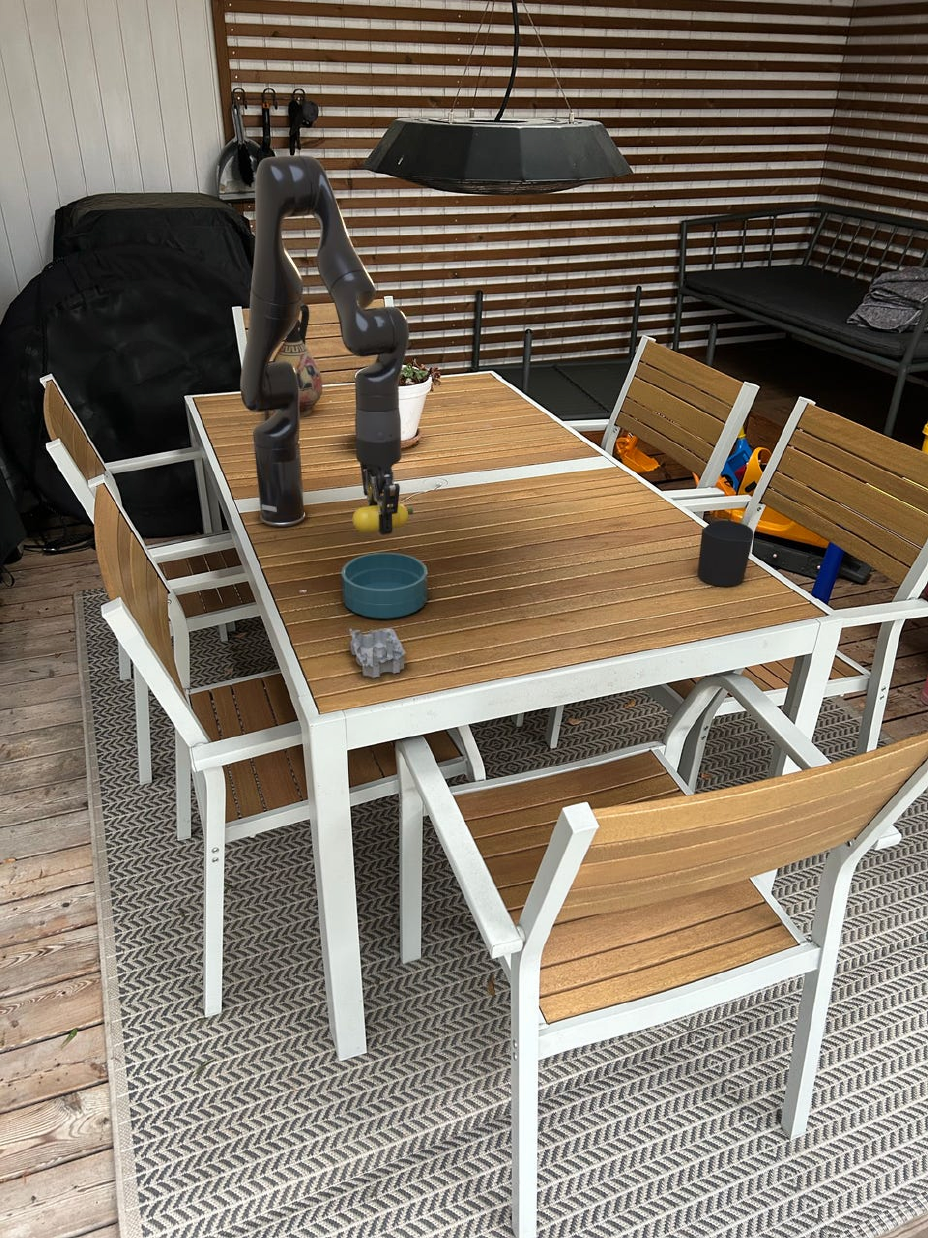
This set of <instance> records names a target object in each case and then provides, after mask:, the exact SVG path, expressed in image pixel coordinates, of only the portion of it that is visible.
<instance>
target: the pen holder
mask: <svg viewBox="0 0 928 1238" xmlns="http://www.w3.org/2000/svg"><path fill="white" fill-rule="evenodd" d="M754 536H755V535H754V531H753V529H752V528H751V527H750V526H748V525H746V524H744V523H742V522H738V521H733V520H724V519H721V520H720V519H719V520H714V521H712V522H711V523H709V524H707V525H706V526H705V527H704V528H702V529H701V537H700V546H699V555H698V556H699V557H698V565H697V576H698V578H699V579H700V580H701V581H702V582H704V583H705V584H708V585H710V586H714V587H719V588H733V587H736V586H739V585H740V584H741V583H742V582H743V581H744V578H745V575H746V571H747V566H748V563H749V558H750V554H751V549H752V545H753V541H754Z"/></svg>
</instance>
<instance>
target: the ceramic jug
mask: <svg viewBox="0 0 928 1238" xmlns="http://www.w3.org/2000/svg"><path fill="white" fill-rule="evenodd" d="M300 312H301V318H298V320H297V322H296V324H295V326H294V327H293V329H292V330H291V332H290V333H289V334H288V335H287V336H286V338H285V339H284V340H283V342H282V344H281V346H280V347H279V348H278V350H277V352H276V353H275V356H274V357H273V359H272V361H271V363H272V362H281V361H286V362H289V363H290V364H291V365H292V366H293V367H294V369H295V371H296V374H297V378H298V384H299V418H304V417H306V416H309V415H311V414H312V411H313V409H314V407H315V406H316V404H317V403H318V402H319V400H320V398H321V396H322V394H323V378H322V373H321V370H320V368H319V366H318V363H317V362H316V360H315V358H314V357H313V355H312V353H311V352H310V351H309V349H308V347H307V346H306V343H307V340H306V336H307V332H308V331H307V330H308V327H309V320H310V308H309V306H308V305H307V304H306V303H305V302H301V310H300Z"/></svg>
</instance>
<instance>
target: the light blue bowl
mask: <svg viewBox="0 0 928 1238" xmlns="http://www.w3.org/2000/svg"><path fill="white" fill-rule="evenodd" d="M341 592H342V594H341V595H342V602H343V604H344V606H345V608H347V609H349V611H351V612H352V613H355V614H356V615H359V616H362V617H366V618H369V619H375V620H376V619H378V620H391V619H392V620H393V619H398V618H403V617H406V616H410V615H411V614H413V613H415V612H417V611H419V610H420V609H421V608H423V607H424V606H425V605H426V603H427V601H428V567H427V566H426V565H425V563H424V561H421V560H420V559H418V558H416V557H414V556H410V555H407V554H404V553H396V552H374V553H367V554H363V555H360V556H358V557H355V558H353V559H351V560H349V561H347V562H346V563H345V564H344V566H342V568H341Z"/></svg>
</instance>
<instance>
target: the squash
mask: <svg viewBox="0 0 928 1238" xmlns="http://www.w3.org/2000/svg"><path fill="white" fill-rule="evenodd" d="M387 507H389V505H387ZM413 514H414V509H413V508H407V507H406V506H405V505H404V504H402V503H400V502H398V512H397V513H396V514H392V530H393V529H398V528H399V529H400V528H402V527H403V526H405V524H407V523H408V520H409V515H413ZM351 521H352V525H353V527H354V528H355V529H356V530H357V531H358V532H360V533H365V534H366V533H373V532H379V513H378V505H374V506H369V505H366V506H362V507H359V508H357V509H356V510H355V512H353V514H352V518H351Z"/></svg>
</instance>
